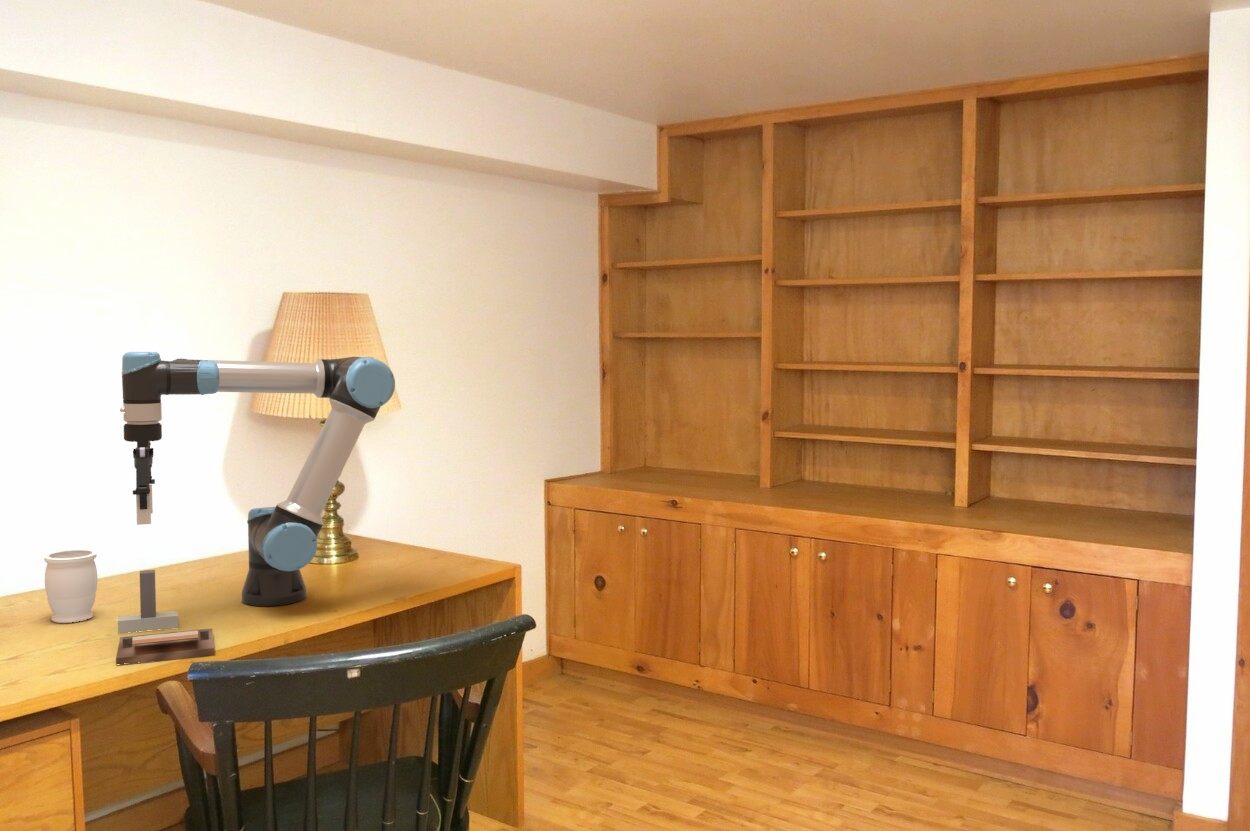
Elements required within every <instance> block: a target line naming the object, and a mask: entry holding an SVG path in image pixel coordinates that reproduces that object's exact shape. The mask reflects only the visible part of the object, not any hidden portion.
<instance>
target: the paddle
mask: <svg viewBox="0 0 1250 831" xmlns="http://www.w3.org/2000/svg"><path fill="white" fill-rule="evenodd" d="M156 593H157V591H156V569H149V570H147V569H145V570H140V571H139V597H140V600H139V602H140V603H139V604H140V614H131V615H122V616H118V619H117V634H118V635H120V634H119V633H128V632H136V631H137V632H138V633H140V632H139V631H147V630H158V629H170V630H173V629H172V628H178V629H179V611H178V610H176V611H165V612H157V596H156ZM128 634H129V633H128Z"/></svg>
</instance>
